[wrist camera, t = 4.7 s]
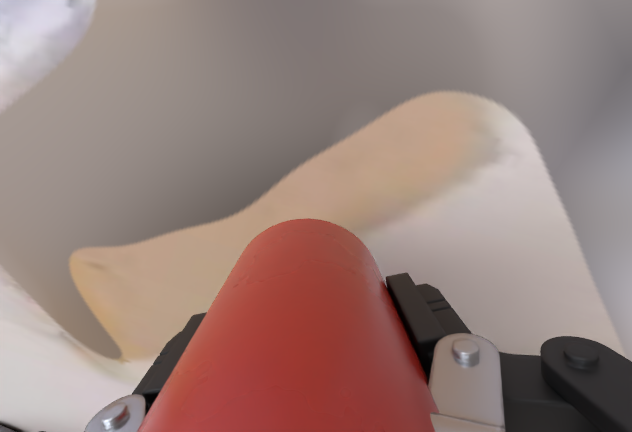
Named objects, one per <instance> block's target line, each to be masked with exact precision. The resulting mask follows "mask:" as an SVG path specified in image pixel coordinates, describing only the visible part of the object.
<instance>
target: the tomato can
mask: <svg viewBox="0 0 632 432" xmlns="http://www.w3.org/2000/svg"><path fill="white" fill-rule="evenodd" d="M428 384H429V381H428V379H427V376H426V374H425V372H424V370H423V367H422V365H421V363H420V361H419V358H418V356H417V354H416V352H415V350H414V347H413V345H412V343H411V341H410V338H409V336H408V334H407V332H406V329H405V327H404V325H403V323H402V321H401V318H400V316H399V314H398V312H397V309H396V307H395V305H394V303H393V300H392V298H391V296H390V294H389V292H388V289H387V287H386V285H385V283H384V280H383V278H382V276H381V274H380V271H379V269H378V267H377V265H376V263H375V260H374V258H373V256H372V255H371V253H370V251H369V250H368V248H367V247H366V246H365V245H364V244H363V242H362V241H360V240H359V239H358V238H357V237H356V236H355V235H354V234H352V233H351V232H349V231H348V230H346V229H344V228H342V227H340V226H338V225H336V224H333V223H330V222H327V221H322V220H316V219H296V220H290V221H286V222H282V223H279V224H277V225H275V226H272V227H270V228H268V229H267V230H265V231H263V232H262V233H260V234H259V235H258V236H257V237H255V238H254V239H253V240H252V241H251V242H250V244H249V245H248V246H247V247H246V249H245V250H244V251H243V253H242V254H241V256H240V258H239V260H238V261H237V263H236V265H235V266H234V268H233V270H232V271H231V273H230V275H229V276H228V278H227V280H226V281H225V283H224V285H223V287H222V288H221V290H220V292H219V293H218V295H217V297H216V298H215V300H214V302H213V303H212V305H211V307H210V308H209V310H208V312H207V314H206V315H205V317H204V319H203V320H202V322H201V324H200V325H199V327H198V329H197V330H196V332H195V334H194V335H193V337H192V339H191V341H190V342H189V344H188V346H187V347H186V349H185V351H184V352H183V354H182V356H181V357H180V359H179V361H178V362H177V364H176V366H175V368H174V369H173V371H172V373H171V374H170V376H169V378H168V379H167V381H166V383H165V384H164V386H163V388H162V389H161V391H160V393H159V395H158V396H157V398H156V400H155V401H154V403H153V405H152V406H151V408H150V410H149V411H148V413H147V415H146V416H145V418H144V420H143V422H142V423H141V425H140V427H139V428H138V430H137V432H435V429H434V427H433V424H432V421H431V417H430V413H431V412H436V413H439V410H438V407H437V405H436V403H435V401H434V398H433V396H432V394H431V391H430V389H429V387H428Z"/></svg>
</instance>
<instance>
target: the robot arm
mask: <svg viewBox="0 0 632 432" xmlns="http://www.w3.org/2000/svg"><path fill="white" fill-rule="evenodd" d="M386 284H387V289H388V292H389V294H390V296H391V298H392V300H393V303H394V305H395V307H396V309H397V312H398V314H399V316H400V318H401V321H402V323H403V325H404V327H405V329H406V332H407V334H408V336H409V338H410V341H411V343H412V345H413V347H414V350H415V352H416V354H417V356H418V358H419V361H420V363H421V365H422V367H423V370H424V372H425V374H426V376H427V379H428V381H429V384H428V387H429V389H430V391H431V394H432V396H433V398H434V401H435V403H436V405H437V407H438V410H439V413H436V412H431V413H430V417H431V421H432V424H433V427H434V429H435V432H632V362H631V361H630V360H628V359H626V358H625V357H623V356H621V355H620V354H618V353H617V352H615V351H613V350H612V349H610V348H608V347H606V346H605V345H602V344H600V343H598V342H595V341H592V340H589V339H585V338H580V337H572V336H562V337H555V338H552V339H549V340H547V341H546V342H544V343H543V344H542V346H541V350H540V353H541V356H533V355H514V354H507V353H502V352H498V350H497V348H496V347H495V346H494V345H493V344H492V343H491V342H490V341H488V340H487V339H485V338H483V337H480V336H477V335H473V334H472V333H471V332H470V331H469V329H468V328H467V327H466V325H465V324H464V323H463V321H462V320H461V319H460V318H459V316H458V315H457V314H456V312H455V311H454V310H453V308H451V306H450V304H449V303H448V302H447V301H446V300H445V298H444V297H443V295H442V294H441V293H440V291H439V290H438V289H436V288H434V287H432V286H430V285H428V284H422V285H417V286H416V285H415V284H414V282H413V281H412V279H411V278H410V276H409V274H408V273H402V274H397V275H392V276H387V277H386ZM206 314H207V312H206V313H201V314H196V315H193V316H192V317H191V319H190V320H189V322H188V323H187V325H186V326H185V328H184V329H183V331H182V332H179V333H178V334H177V335H176V336H175V337H174V338H172V339H171V340H170V341H169V342H168V343H167V344H166V346H165V347H164V349H163V350H162V351H161V353H160V356H158V357H157V359H156V360H155V361H154V363H153V365H152V366H151V367H150V369H149V370H148V372H147V373H146V374H145V376H144V377H143V379H142V380H141V382H140V383H139V385H138V386H137V387H136V389H135V390H134V392H133V393H132V395H128V396H125V397H122V398H120V399H118V400H116V401H114V402H112V403H111V404H109V405H107V406H106V407H105V408H103V409H102V410H101V411H100V412H98V413H97V414H96V415H95V416H94V417H93V418H92V420H91V421H90V422H89V423H88V425H87V426H86V428H85V431H84V432H137V430H138V428H139V427H140V425H141V423H142V422H143V420H144V418H145V416H146V415H147V413H148V411H149V410H150V408H151V406H152V405H153V403H154V401H155V400H156V398H157V396H158V395H159V393H160V391H161V389H162V388H163V386H164V384H165V383H166V381H167V379H168V378H169V376H170V374H171V373H172V371H173V369H174V368H175V366H176V364H177V362H178V361H179V359H180V357H181V356H182V354H183V352H184V351H185V349H186V347H187V346H188V344H189V342H190V341H191V339H192V337H193V335H194V334H195V332H196V330H197V329H198V327H199V325H200V324H201V322H202V320H203V319H204V317H205V315H206ZM0 432H15V431H13V430H11V429H9V428H6V427H3V426H0ZM41 432H44V431H41Z"/></svg>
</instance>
